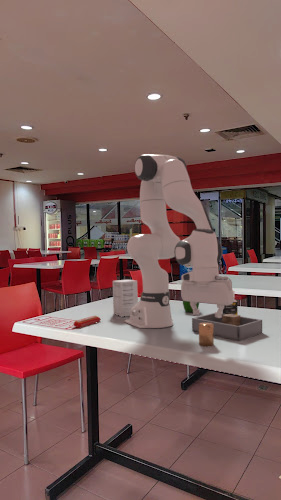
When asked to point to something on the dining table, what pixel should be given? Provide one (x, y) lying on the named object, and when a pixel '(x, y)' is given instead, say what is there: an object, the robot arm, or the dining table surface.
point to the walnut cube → (231, 319)
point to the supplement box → (124, 296)
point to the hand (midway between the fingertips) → (207, 316)
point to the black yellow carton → (231, 308)
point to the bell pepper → (189, 306)
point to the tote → (230, 327)
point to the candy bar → (86, 321)
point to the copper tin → (206, 334)
